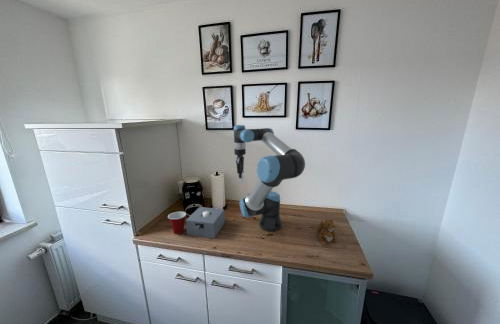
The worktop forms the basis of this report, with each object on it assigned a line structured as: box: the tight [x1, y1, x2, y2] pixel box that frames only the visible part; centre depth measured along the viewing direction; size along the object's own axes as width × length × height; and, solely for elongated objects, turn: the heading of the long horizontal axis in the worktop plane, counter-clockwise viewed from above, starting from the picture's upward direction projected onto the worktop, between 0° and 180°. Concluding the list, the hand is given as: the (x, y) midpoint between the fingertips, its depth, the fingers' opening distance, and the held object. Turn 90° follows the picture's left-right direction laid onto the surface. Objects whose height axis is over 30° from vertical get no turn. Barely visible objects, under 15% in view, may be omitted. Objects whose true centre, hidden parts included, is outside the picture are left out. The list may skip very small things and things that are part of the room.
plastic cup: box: [167, 211, 187, 235], centre depth 126 cm, size 11×11×12 cm
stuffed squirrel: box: [316, 218, 338, 246], centre depth 118 cm, size 10×14×13 cm
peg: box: [203, 211, 210, 217], centre depth 130 cm, size 4×4×11 cm
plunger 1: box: [195, 224, 203, 231], centre depth 121 cm, size 4×9×2 cm, turn 167°
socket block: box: [185, 206, 226, 239], centre depth 129 cm, size 18×18×10 cm
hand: (240, 181), depth 139 cm, fingers closed
